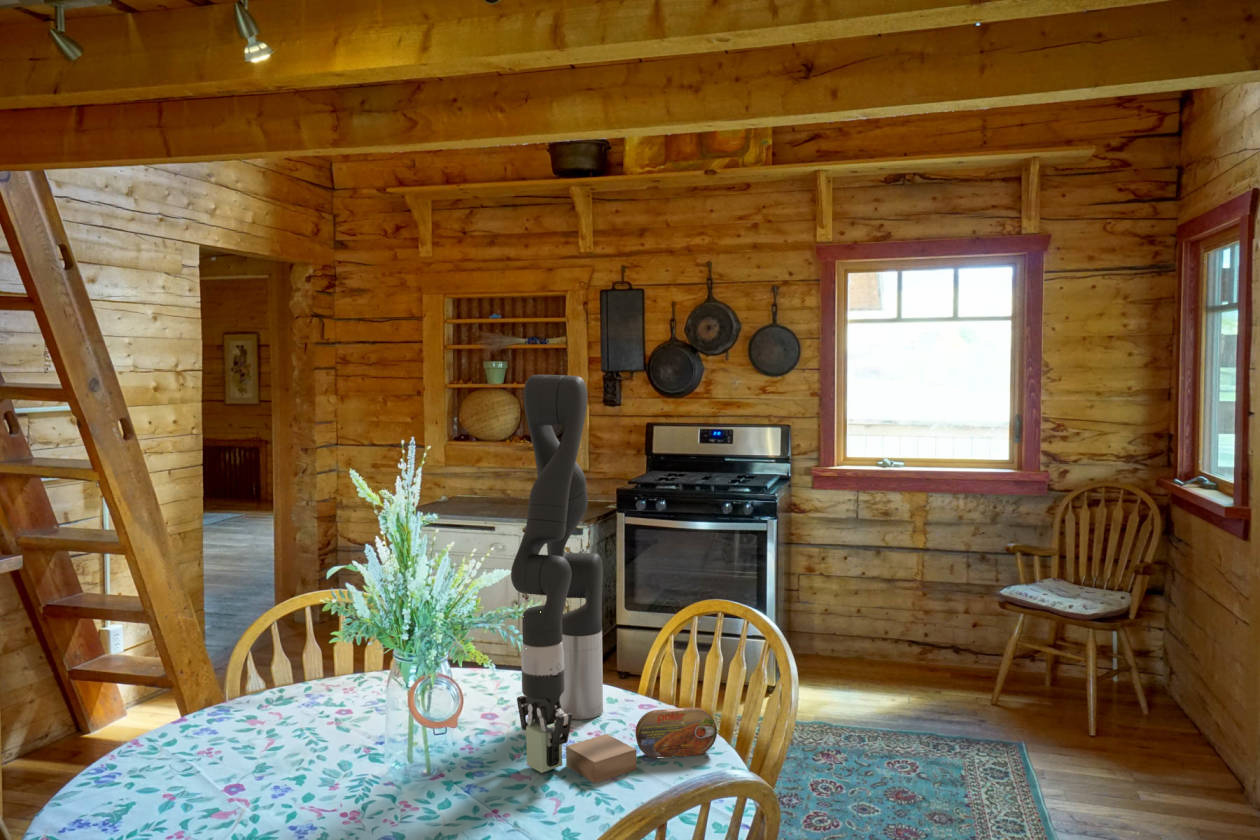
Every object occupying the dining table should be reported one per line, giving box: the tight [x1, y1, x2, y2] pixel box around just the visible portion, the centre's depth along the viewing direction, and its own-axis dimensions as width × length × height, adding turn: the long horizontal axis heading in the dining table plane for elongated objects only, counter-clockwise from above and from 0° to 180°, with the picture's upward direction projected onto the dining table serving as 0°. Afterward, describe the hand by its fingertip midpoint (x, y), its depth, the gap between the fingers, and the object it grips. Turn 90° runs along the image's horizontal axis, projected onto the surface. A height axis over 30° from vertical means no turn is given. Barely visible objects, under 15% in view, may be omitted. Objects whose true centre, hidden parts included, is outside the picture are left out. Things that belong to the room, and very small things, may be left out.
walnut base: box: [565, 733, 638, 784], centre depth 169 cm, size 9×9×4 cm
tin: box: [635, 706, 718, 759], centre depth 175 cm, size 15×3×8 cm, turn 99°
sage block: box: [525, 723, 563, 774], centre depth 169 cm, size 4×4×7 cm
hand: (544, 760), depth 169 cm, fingers closed on sage block, 4 cm apart
